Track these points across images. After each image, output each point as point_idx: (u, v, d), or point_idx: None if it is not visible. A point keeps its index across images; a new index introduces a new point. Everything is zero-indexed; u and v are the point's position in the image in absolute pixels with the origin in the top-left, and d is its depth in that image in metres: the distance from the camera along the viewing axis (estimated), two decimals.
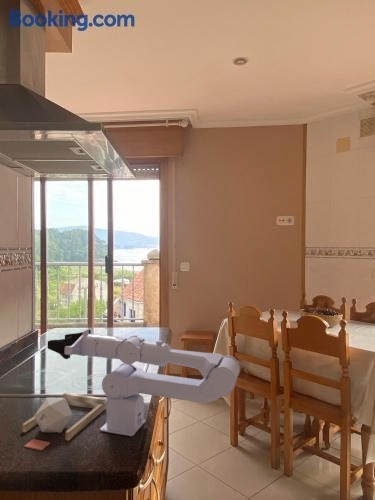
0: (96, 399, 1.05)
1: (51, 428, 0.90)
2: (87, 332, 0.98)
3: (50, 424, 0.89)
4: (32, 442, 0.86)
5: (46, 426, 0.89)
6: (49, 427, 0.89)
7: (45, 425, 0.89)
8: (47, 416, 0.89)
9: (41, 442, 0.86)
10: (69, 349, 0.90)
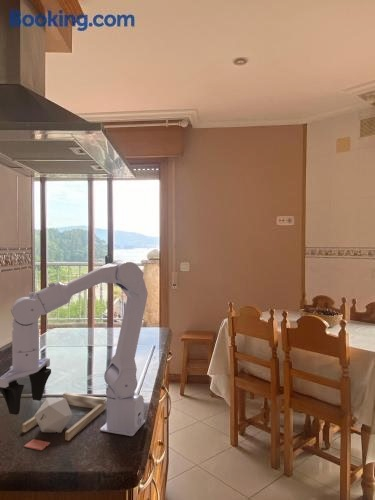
0: (96, 399, 1.05)
1: (51, 428, 0.90)
2: None
3: (50, 424, 0.89)
4: (32, 442, 0.86)
5: (46, 426, 0.89)
6: (49, 427, 0.89)
7: (45, 425, 0.89)
8: (47, 416, 0.89)
9: (41, 442, 0.86)
10: (0, 380, 0.77)
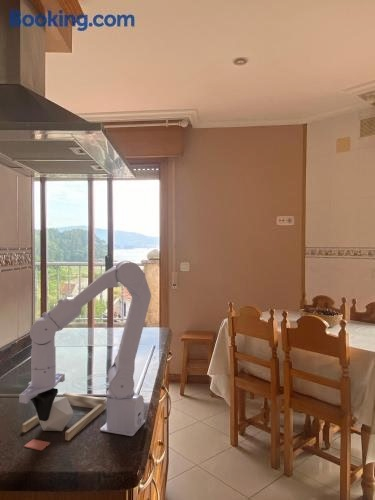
0: (96, 399, 1.05)
1: (53, 426, 0.90)
2: None
3: (52, 422, 0.90)
4: (32, 442, 0.86)
5: (48, 424, 0.89)
6: (51, 425, 0.90)
7: (47, 423, 0.89)
8: None
9: (41, 442, 0.86)
10: (21, 396, 0.82)
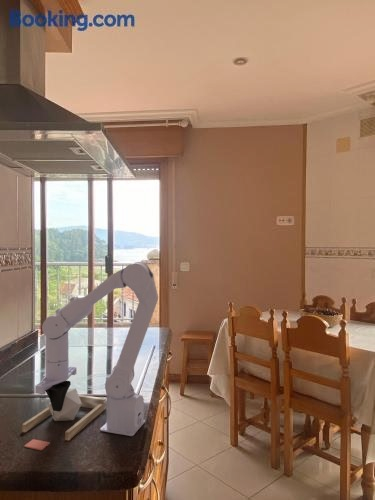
0: (96, 399, 1.05)
1: (66, 416, 0.96)
2: None
3: (65, 412, 0.95)
4: (32, 442, 0.86)
5: (62, 414, 0.95)
6: (64, 415, 0.95)
7: (61, 413, 0.95)
8: None
9: (41, 442, 0.86)
10: (37, 387, 0.88)
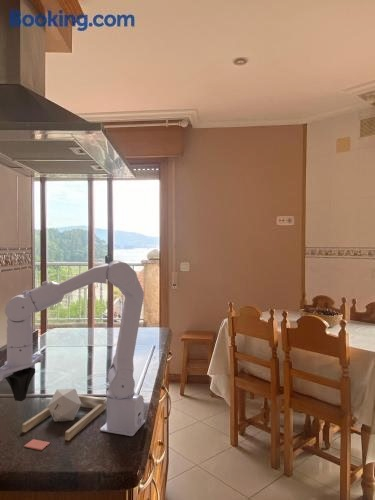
0: (96, 399, 1.05)
1: (66, 416, 0.96)
2: None
3: (65, 412, 0.95)
4: (32, 442, 0.86)
5: (61, 414, 0.95)
6: (64, 415, 0.95)
7: (60, 414, 0.95)
8: (62, 405, 0.95)
9: (41, 442, 0.86)
10: None
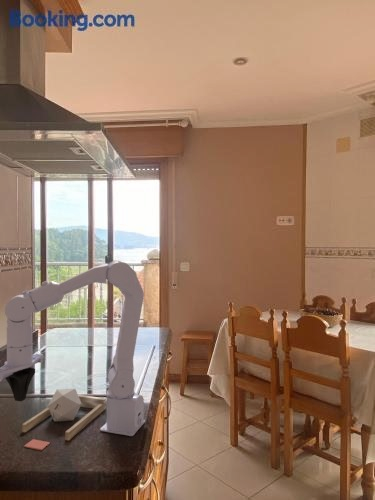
0: (96, 399, 1.05)
1: (66, 416, 0.96)
2: None
3: (65, 412, 0.95)
4: (32, 442, 0.86)
5: (61, 414, 0.95)
6: (64, 415, 0.95)
7: (60, 414, 0.95)
8: (62, 405, 0.95)
9: (41, 442, 0.86)
10: None
